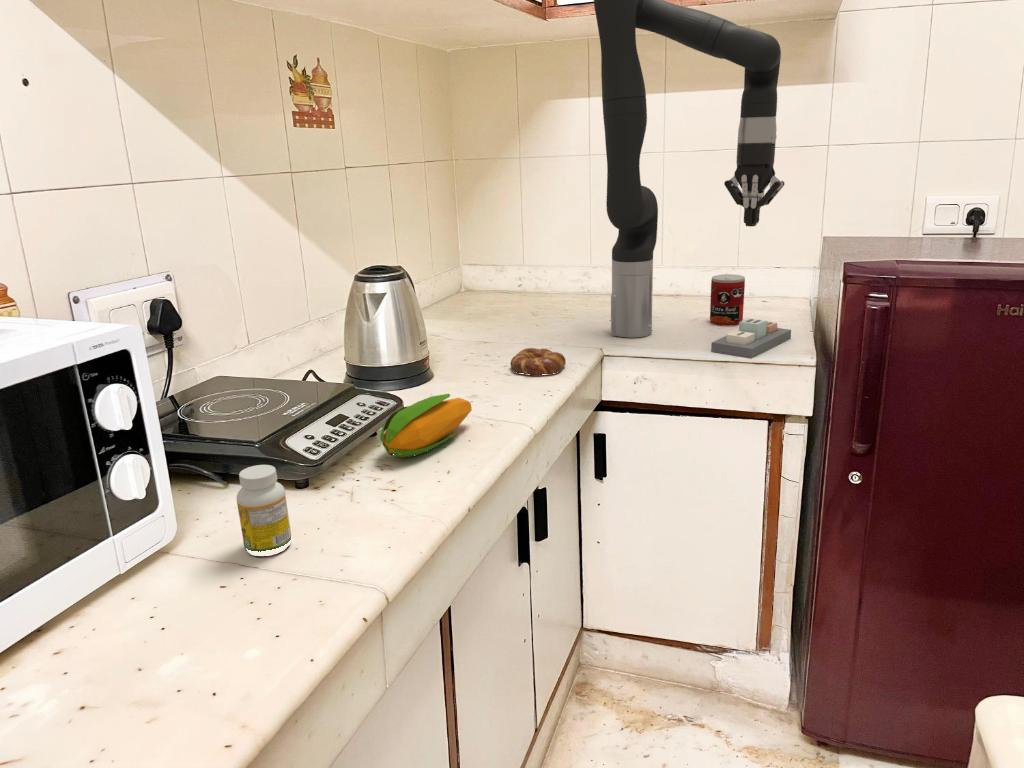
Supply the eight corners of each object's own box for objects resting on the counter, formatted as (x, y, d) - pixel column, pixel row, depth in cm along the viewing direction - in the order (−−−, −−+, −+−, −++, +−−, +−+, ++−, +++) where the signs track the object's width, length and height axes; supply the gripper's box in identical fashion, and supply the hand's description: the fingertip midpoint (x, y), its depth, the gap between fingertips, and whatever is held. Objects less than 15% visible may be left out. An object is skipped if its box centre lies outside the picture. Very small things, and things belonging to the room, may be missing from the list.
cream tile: (725, 350, 161) (726, 334, 160) (735, 346, 164) (736, 330, 163) (744, 353, 158) (745, 336, 157) (753, 349, 161) (754, 332, 160)
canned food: (706, 324, 183) (707, 279, 180) (714, 317, 190) (716, 273, 187) (738, 327, 180) (741, 280, 177) (745, 319, 187) (748, 274, 183)
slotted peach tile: (749, 339, 168) (750, 323, 167) (758, 335, 171) (759, 319, 170) (768, 342, 166) (769, 326, 165) (776, 338, 169) (777, 322, 167)
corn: (364, 413, 110) (449, 375, 126) (367, 461, 113) (449, 418, 128) (404, 424, 106) (486, 384, 122) (406, 474, 109) (486, 428, 125)
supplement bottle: (290, 555, 87) (279, 478, 85) (241, 561, 87) (229, 484, 84) (294, 532, 93) (283, 459, 90) (248, 538, 92) (235, 464, 89)
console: (711, 351, 161) (711, 342, 160) (752, 333, 174) (752, 324, 174) (751, 358, 155) (752, 348, 155) (790, 338, 168) (791, 329, 168)
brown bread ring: (498, 368, 156) (497, 350, 155) (541, 358, 162) (541, 341, 161) (531, 382, 147) (530, 363, 146) (576, 371, 152) (576, 353, 151)
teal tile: (738, 337, 164) (739, 321, 163) (747, 333, 167) (748, 317, 166) (757, 340, 161) (758, 324, 160) (765, 336, 164) (766, 320, 163)
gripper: (718, 141, 160) (714, 226, 165) (778, 140, 151) (772, 229, 156) (735, 140, 165) (731, 222, 170) (795, 139, 156) (788, 225, 161)
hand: (751, 225), depth 163 cm, fingers closed
